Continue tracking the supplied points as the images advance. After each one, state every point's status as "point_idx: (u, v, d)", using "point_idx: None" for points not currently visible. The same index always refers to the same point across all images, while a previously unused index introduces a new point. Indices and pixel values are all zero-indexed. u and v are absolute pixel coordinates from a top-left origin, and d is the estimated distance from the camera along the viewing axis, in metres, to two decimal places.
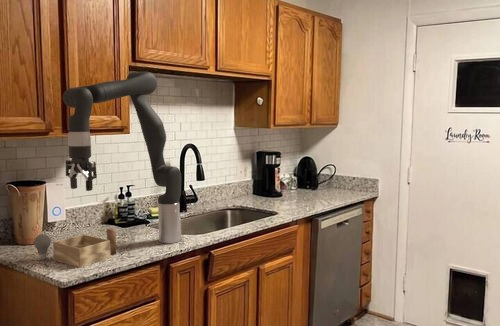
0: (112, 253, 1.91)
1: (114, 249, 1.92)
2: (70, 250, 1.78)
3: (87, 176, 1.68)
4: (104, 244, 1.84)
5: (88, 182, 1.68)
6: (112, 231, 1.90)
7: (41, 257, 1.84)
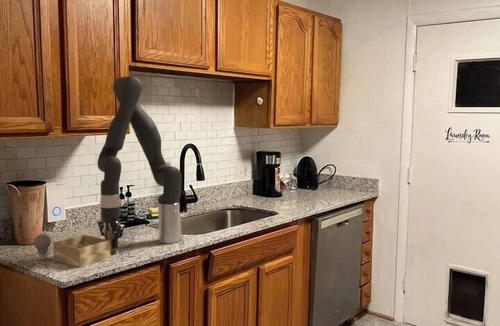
0: (112, 253, 1.91)
1: (114, 249, 1.92)
2: (70, 250, 1.78)
3: (114, 236, 1.90)
4: (104, 244, 1.84)
5: (114, 241, 1.90)
6: None
7: (41, 257, 1.84)
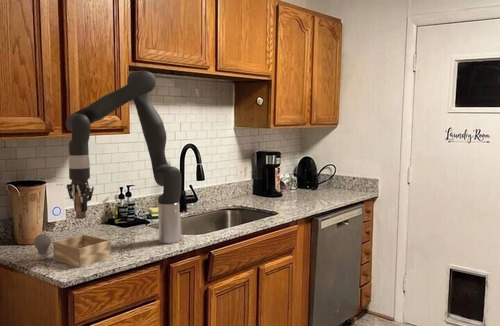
0: (81, 217, 1.82)
1: (83, 213, 1.83)
2: (70, 250, 1.78)
3: (83, 199, 1.81)
4: (104, 244, 1.84)
5: (83, 204, 1.81)
6: None
7: (41, 257, 1.84)
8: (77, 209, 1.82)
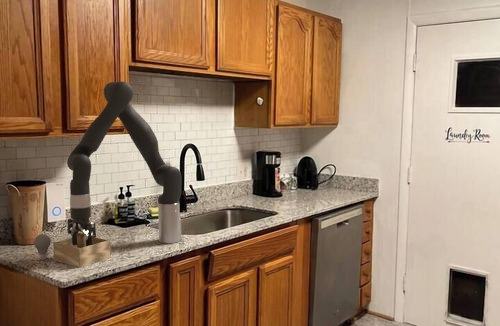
0: None
1: None
2: (70, 250, 1.78)
3: (87, 235, 1.81)
4: (104, 244, 1.84)
5: (88, 241, 1.82)
6: (82, 235, 1.83)
7: (41, 257, 1.84)
8: None
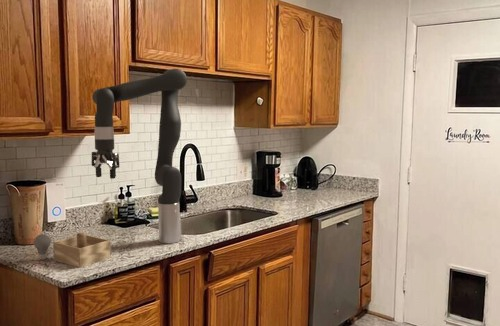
0: None
1: None
2: (70, 250, 1.78)
3: (111, 165, 1.91)
4: (104, 244, 1.84)
5: (112, 171, 1.92)
6: (82, 235, 1.83)
7: (41, 257, 1.84)
8: None
